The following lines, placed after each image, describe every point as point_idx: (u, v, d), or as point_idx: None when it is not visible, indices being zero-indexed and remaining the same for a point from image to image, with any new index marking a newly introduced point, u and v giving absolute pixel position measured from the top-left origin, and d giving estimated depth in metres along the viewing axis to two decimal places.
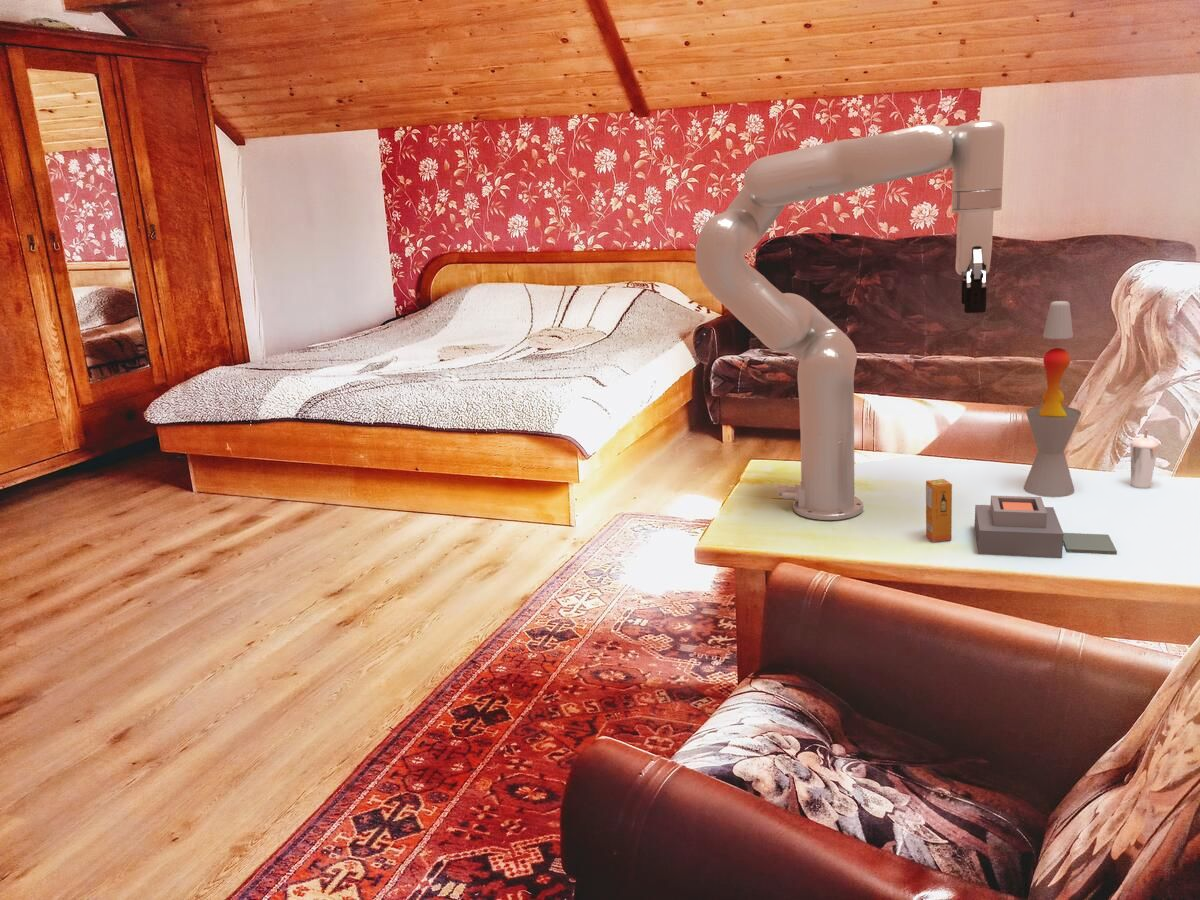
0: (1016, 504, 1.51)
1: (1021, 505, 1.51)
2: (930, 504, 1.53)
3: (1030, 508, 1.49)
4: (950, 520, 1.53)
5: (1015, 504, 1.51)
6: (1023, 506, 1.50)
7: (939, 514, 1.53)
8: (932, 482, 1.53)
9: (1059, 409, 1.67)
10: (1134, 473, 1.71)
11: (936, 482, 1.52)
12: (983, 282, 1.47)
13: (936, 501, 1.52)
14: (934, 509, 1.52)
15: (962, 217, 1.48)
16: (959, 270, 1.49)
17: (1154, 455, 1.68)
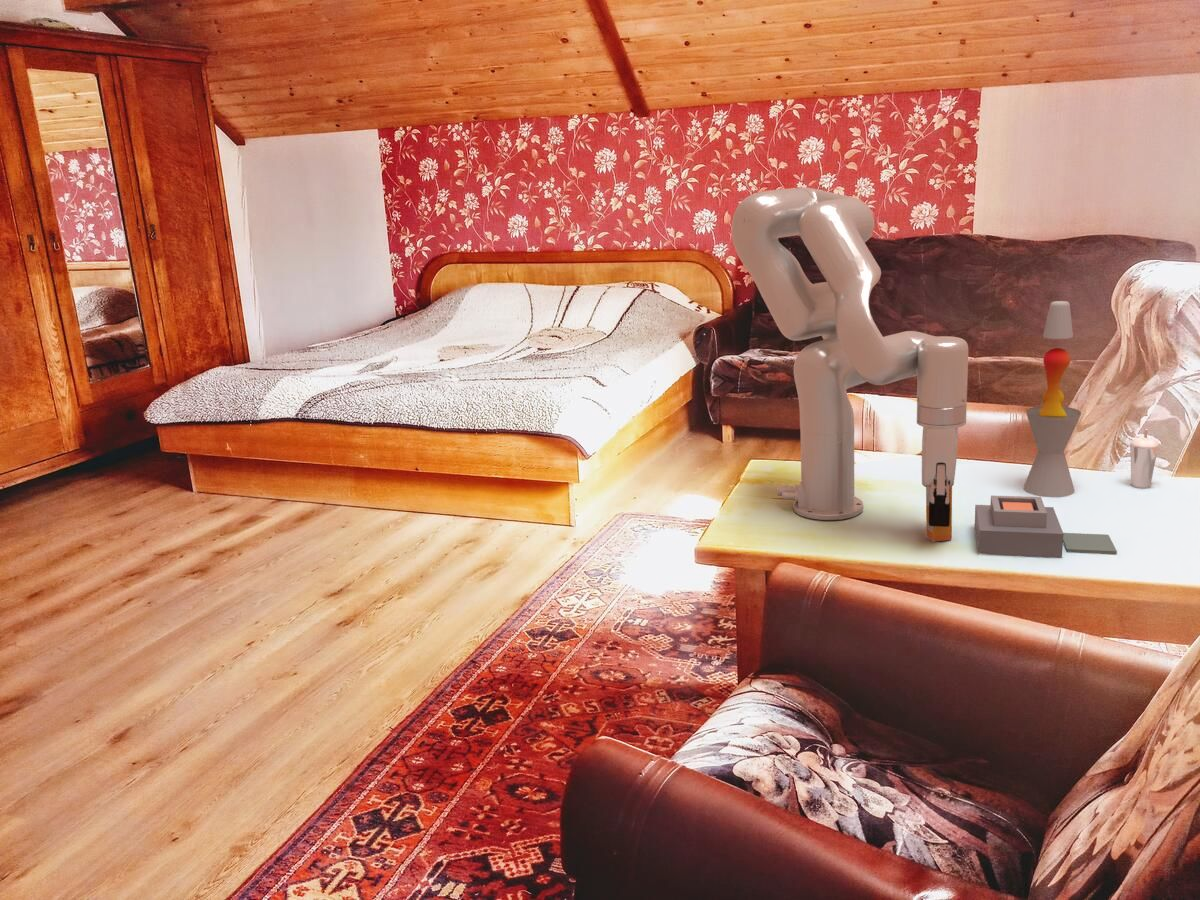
0: (1016, 504, 1.51)
1: (1021, 505, 1.51)
2: None
3: (1030, 508, 1.49)
4: (950, 520, 1.53)
5: (1015, 504, 1.51)
6: (1023, 506, 1.50)
7: None
8: None
9: (1059, 409, 1.67)
10: (1134, 473, 1.71)
11: (936, 482, 1.52)
12: (946, 501, 1.50)
13: None
14: None
15: (926, 433, 1.47)
16: (923, 483, 1.49)
17: (1154, 455, 1.68)
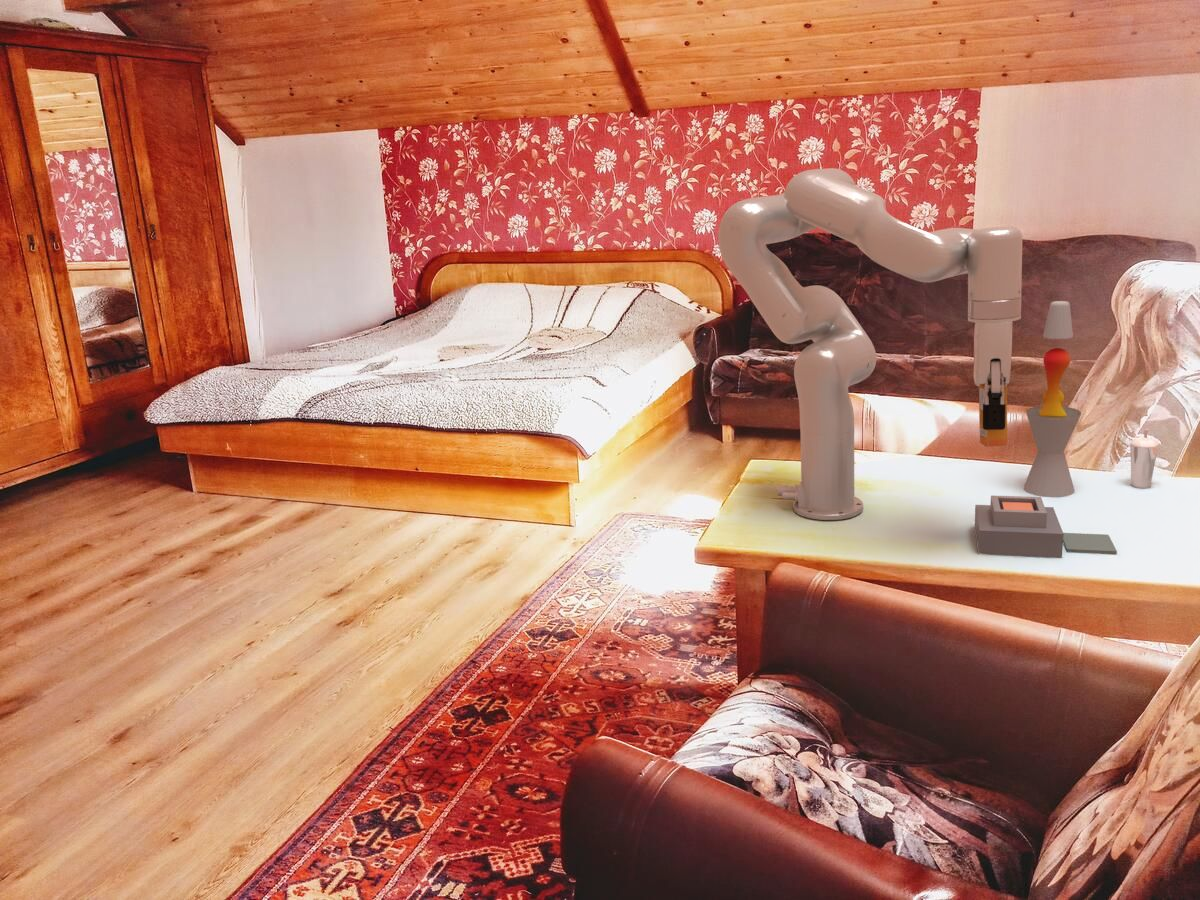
0: (1016, 504, 1.51)
1: (1021, 505, 1.51)
2: None
3: (1030, 508, 1.49)
4: (1005, 423, 1.46)
5: (1015, 504, 1.51)
6: (1023, 506, 1.50)
7: None
8: None
9: (1059, 409, 1.67)
10: (1134, 473, 1.71)
11: (990, 383, 1.45)
12: (1002, 402, 1.43)
13: None
14: None
15: (979, 328, 1.40)
16: (977, 382, 1.42)
17: (1154, 455, 1.68)
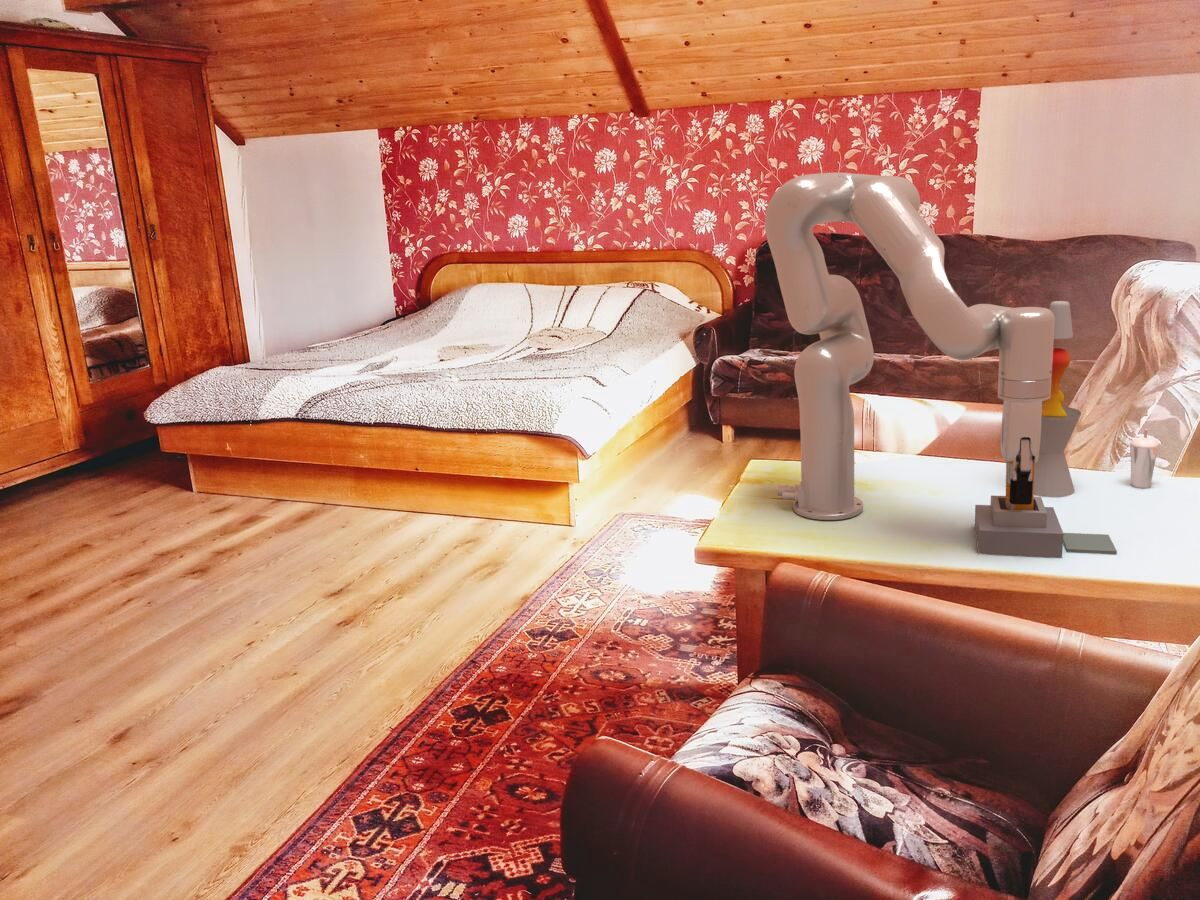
0: None
1: None
2: None
3: None
4: (1032, 498, 1.48)
5: None
6: None
7: None
8: None
9: (1059, 409, 1.67)
10: (1134, 473, 1.71)
11: (1018, 458, 1.47)
12: (1029, 478, 1.45)
13: None
14: None
15: (1010, 406, 1.42)
16: (1006, 459, 1.44)
17: (1154, 455, 1.68)
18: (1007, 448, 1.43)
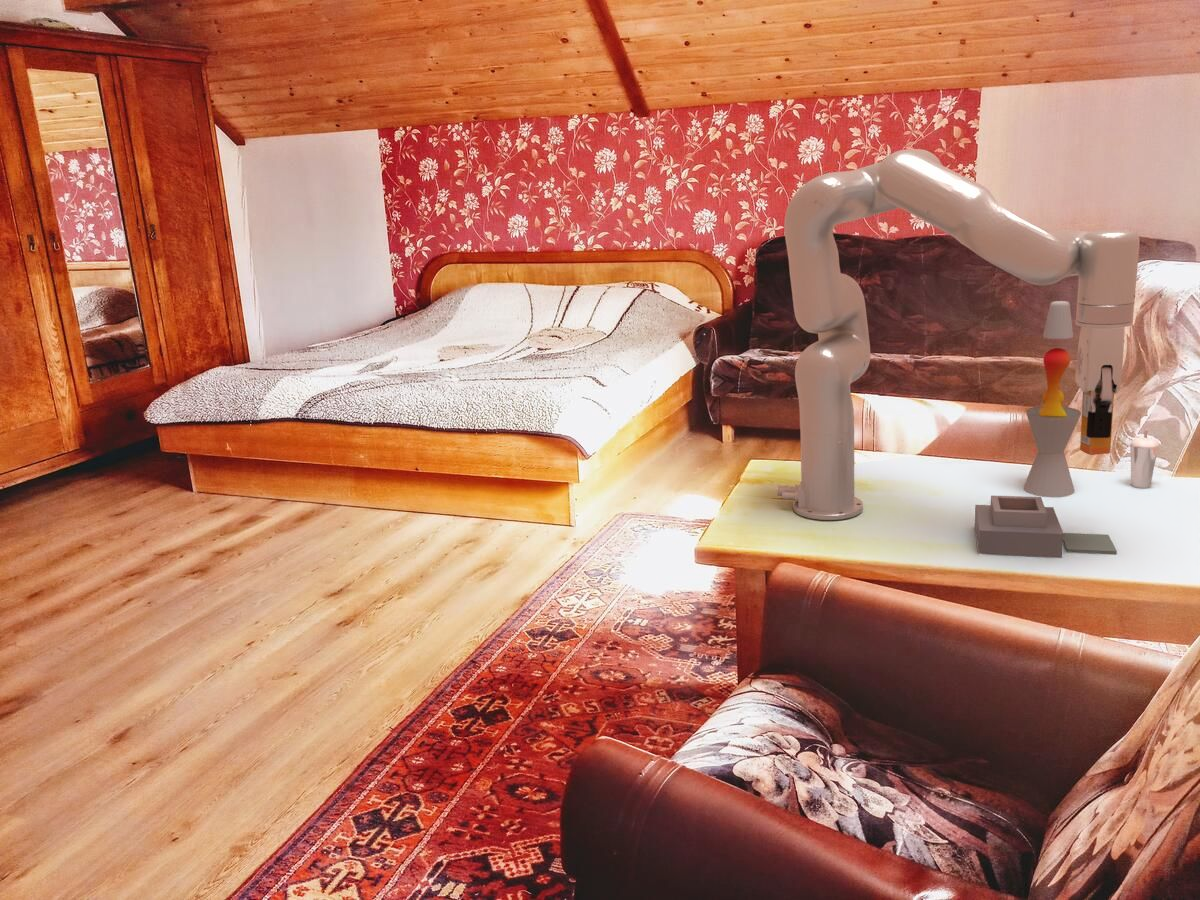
0: None
1: None
2: None
3: None
4: None
5: None
6: None
7: None
8: None
9: (1059, 409, 1.67)
10: (1134, 473, 1.71)
11: (1096, 390, 1.41)
12: (1109, 409, 1.38)
13: None
14: None
15: (1091, 333, 1.36)
16: (1086, 389, 1.38)
17: (1154, 455, 1.68)
18: (1087, 377, 1.37)
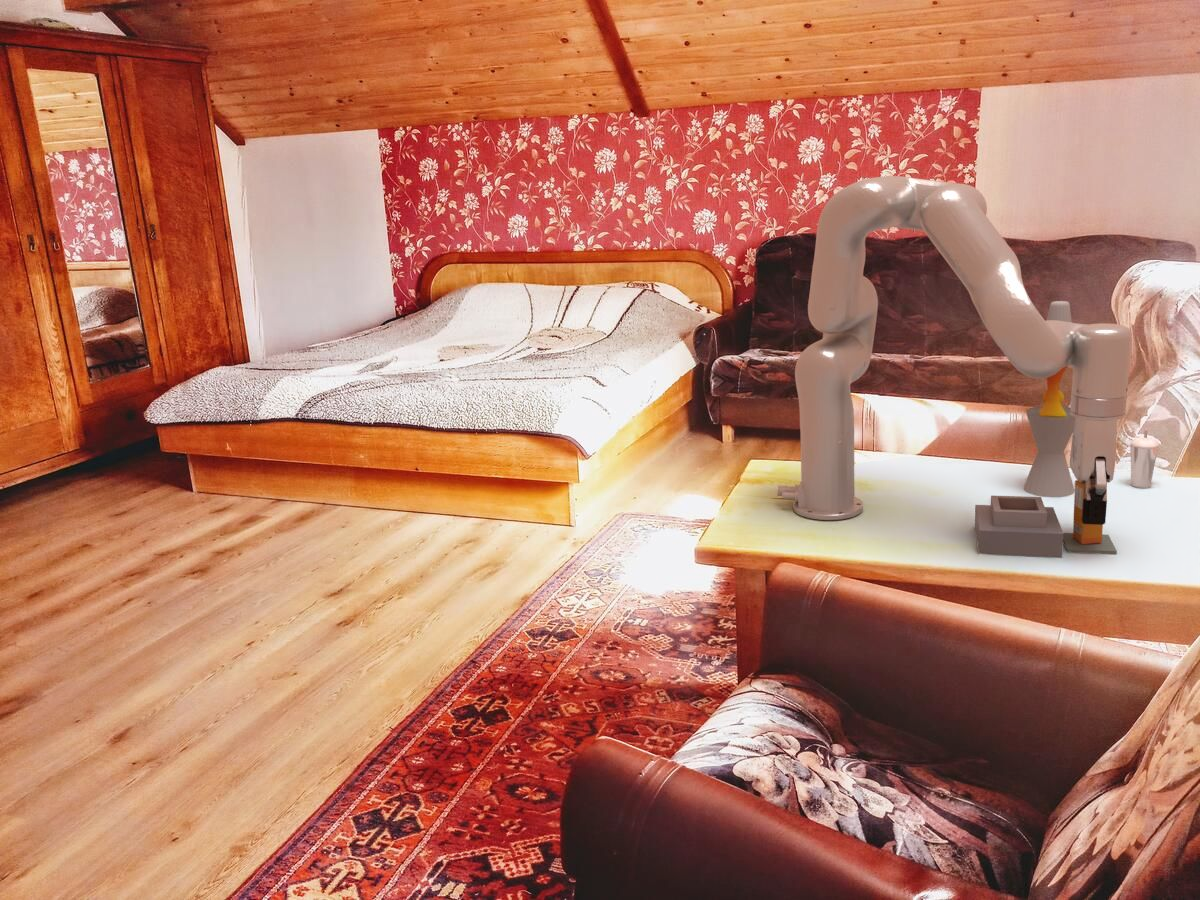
0: None
1: None
2: (1080, 505, 1.46)
3: None
4: None
5: None
6: None
7: None
8: (1083, 482, 1.46)
9: (1059, 409, 1.67)
10: (1134, 473, 1.71)
11: None
12: (1104, 497, 1.41)
13: None
14: None
15: (1084, 425, 1.40)
16: (1080, 478, 1.41)
17: (1154, 455, 1.68)
18: (1081, 467, 1.41)
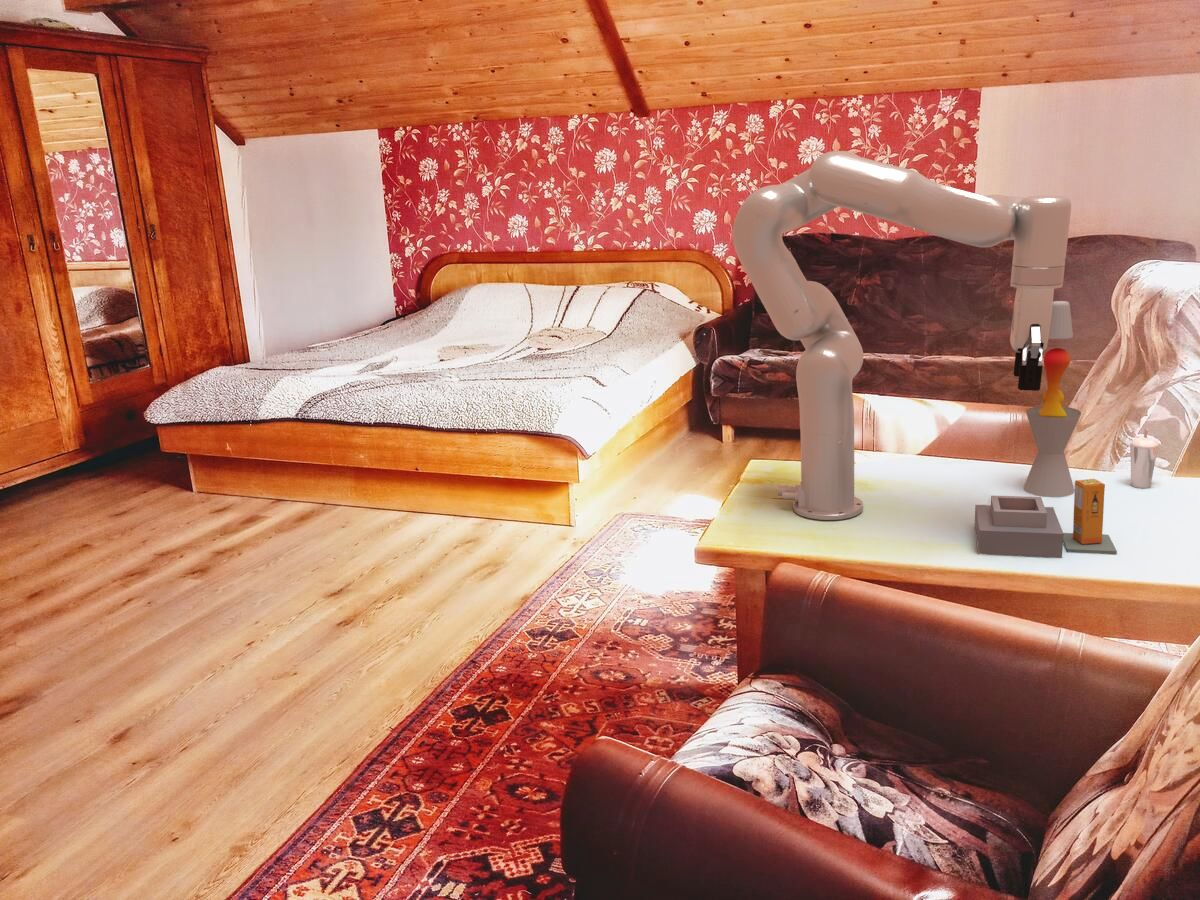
0: None
1: None
2: (1080, 504, 1.46)
3: None
4: (1101, 522, 1.46)
5: None
6: None
7: (1090, 516, 1.46)
8: (1083, 482, 1.46)
9: (1059, 409, 1.67)
10: (1134, 473, 1.71)
11: (1087, 482, 1.46)
12: (1039, 361, 1.44)
13: (1087, 501, 1.45)
14: (1084, 510, 1.46)
15: (1022, 293, 1.44)
16: (1015, 346, 1.46)
17: (1154, 455, 1.68)
18: (1017, 335, 1.45)
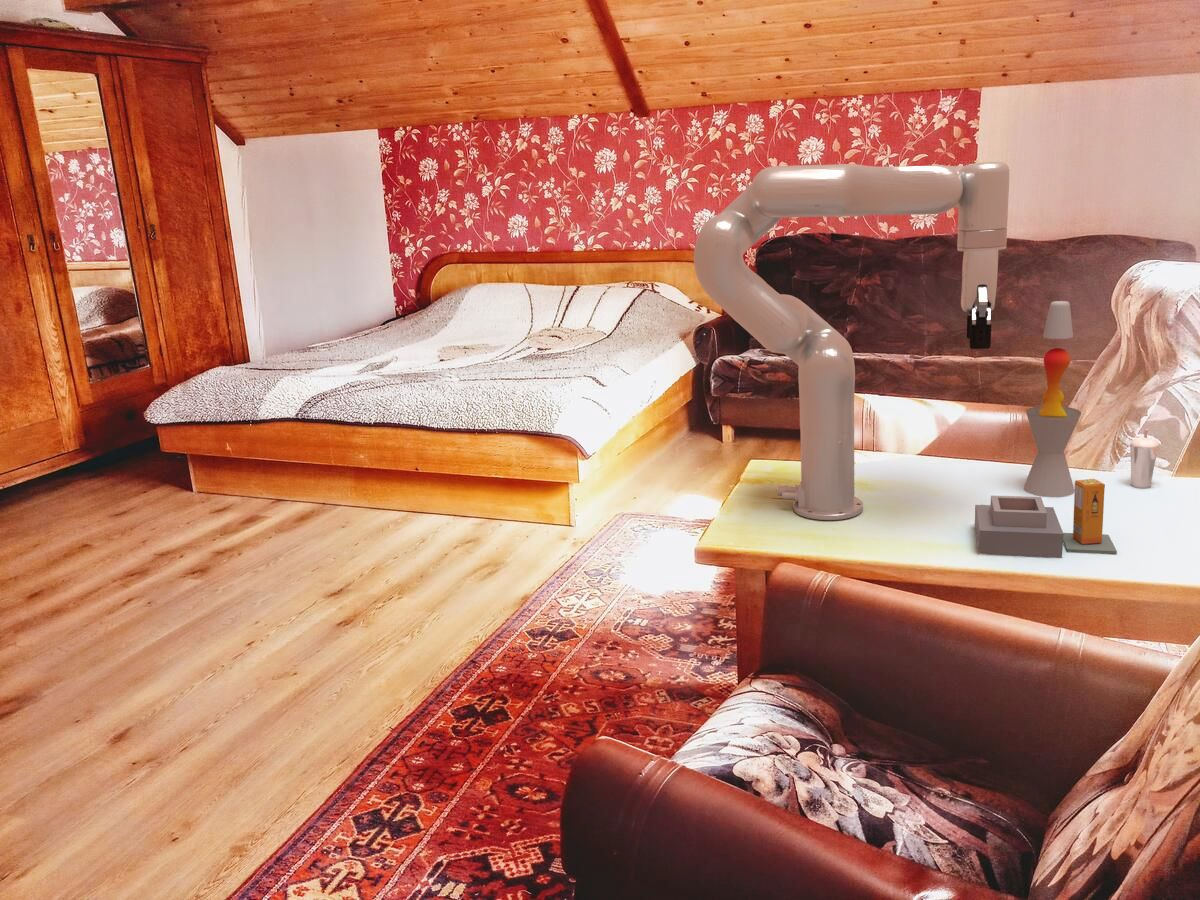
0: None
1: None
2: (1080, 504, 1.46)
3: None
4: (1101, 522, 1.46)
5: None
6: None
7: (1090, 516, 1.46)
8: (1083, 482, 1.46)
9: (1059, 409, 1.67)
10: (1134, 473, 1.71)
11: (1087, 482, 1.46)
12: (988, 319, 1.51)
13: (1087, 501, 1.45)
14: (1084, 510, 1.46)
15: (968, 256, 1.51)
16: (964, 307, 1.53)
17: (1154, 455, 1.68)
18: (965, 296, 1.52)
